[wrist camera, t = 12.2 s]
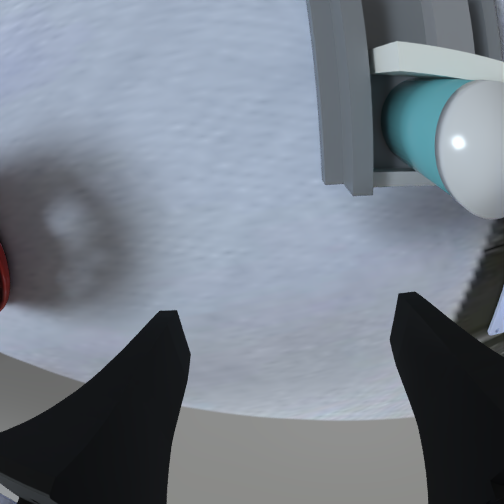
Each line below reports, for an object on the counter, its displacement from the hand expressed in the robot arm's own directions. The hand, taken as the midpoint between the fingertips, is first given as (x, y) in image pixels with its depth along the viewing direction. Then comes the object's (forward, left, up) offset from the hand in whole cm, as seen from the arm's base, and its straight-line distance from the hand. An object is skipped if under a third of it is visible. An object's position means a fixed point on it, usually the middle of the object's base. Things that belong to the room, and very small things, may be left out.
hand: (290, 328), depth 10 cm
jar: (-8, -5, -8) cm, 13 cm away
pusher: (-8, -10, -8) cm, 15 cm away
